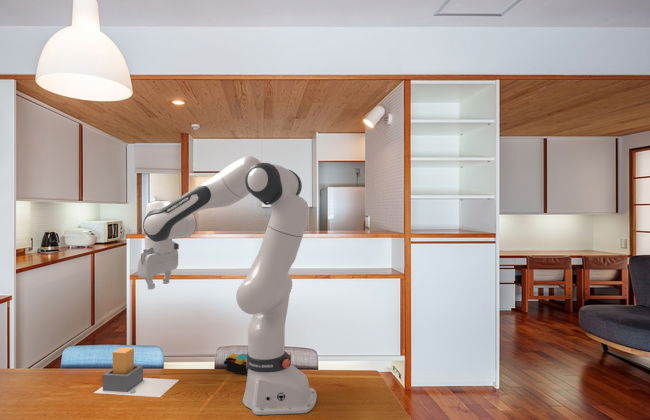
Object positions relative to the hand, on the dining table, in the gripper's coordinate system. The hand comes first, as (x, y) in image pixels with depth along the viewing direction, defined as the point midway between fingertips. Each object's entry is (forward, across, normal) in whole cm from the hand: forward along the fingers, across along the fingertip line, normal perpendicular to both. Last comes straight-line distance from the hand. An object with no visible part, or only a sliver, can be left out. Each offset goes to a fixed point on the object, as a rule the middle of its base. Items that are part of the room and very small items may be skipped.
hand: (158, 286), depth 137 cm
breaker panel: (+31, -11, +1) cm, 33 cm away
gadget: (+31, +6, -29) cm, 43 cm away
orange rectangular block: (+26, -11, +6) cm, 29 cm away
